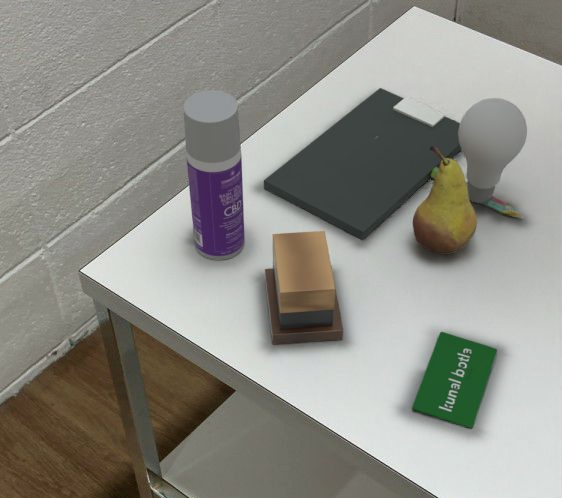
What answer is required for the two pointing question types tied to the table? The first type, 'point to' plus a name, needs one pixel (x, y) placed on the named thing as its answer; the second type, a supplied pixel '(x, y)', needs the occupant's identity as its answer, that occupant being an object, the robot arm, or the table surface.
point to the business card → (455, 380)
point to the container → (215, 173)
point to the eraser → (303, 280)
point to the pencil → (492, 202)
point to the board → (365, 165)
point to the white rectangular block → (419, 112)
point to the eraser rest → (299, 333)
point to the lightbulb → (490, 143)
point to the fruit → (445, 211)
